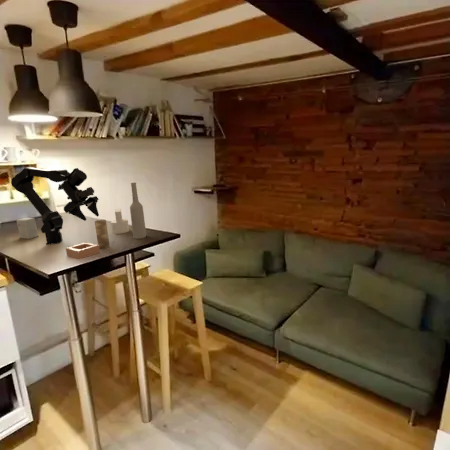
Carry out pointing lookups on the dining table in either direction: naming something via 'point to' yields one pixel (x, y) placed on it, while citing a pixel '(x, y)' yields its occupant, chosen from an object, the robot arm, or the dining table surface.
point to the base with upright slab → (119, 223)
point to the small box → (27, 228)
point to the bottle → (137, 215)
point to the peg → (102, 234)
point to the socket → (82, 250)
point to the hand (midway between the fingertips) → (92, 218)
